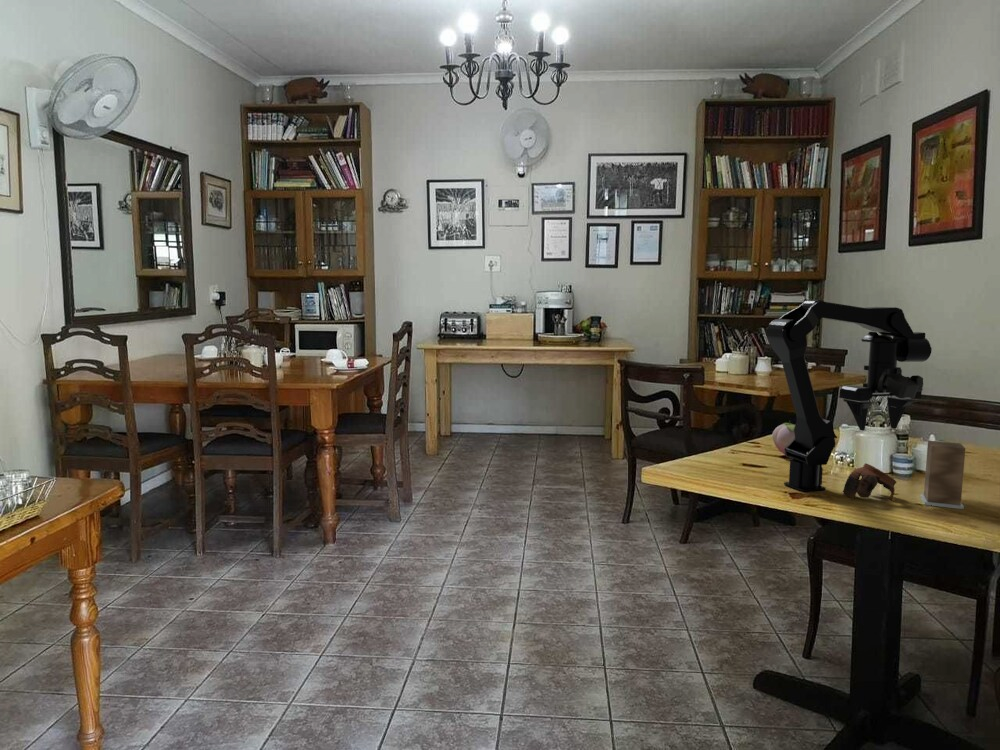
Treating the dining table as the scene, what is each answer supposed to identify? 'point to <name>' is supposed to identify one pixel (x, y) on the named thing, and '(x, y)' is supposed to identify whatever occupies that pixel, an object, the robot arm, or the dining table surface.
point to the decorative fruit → (783, 436)
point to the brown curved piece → (867, 482)
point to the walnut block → (944, 472)
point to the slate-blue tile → (940, 503)
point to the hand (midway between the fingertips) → (877, 429)
